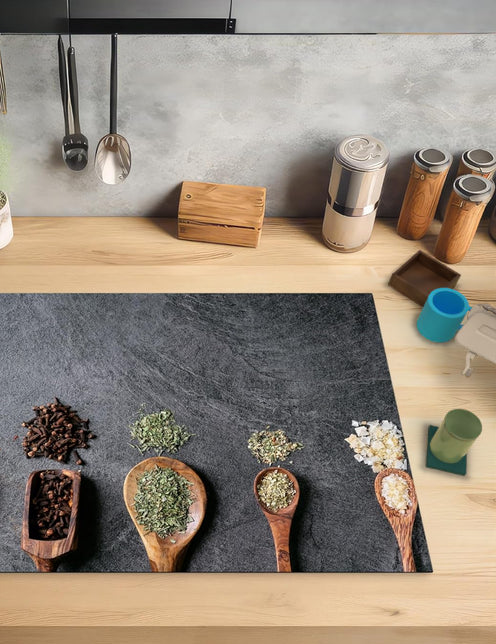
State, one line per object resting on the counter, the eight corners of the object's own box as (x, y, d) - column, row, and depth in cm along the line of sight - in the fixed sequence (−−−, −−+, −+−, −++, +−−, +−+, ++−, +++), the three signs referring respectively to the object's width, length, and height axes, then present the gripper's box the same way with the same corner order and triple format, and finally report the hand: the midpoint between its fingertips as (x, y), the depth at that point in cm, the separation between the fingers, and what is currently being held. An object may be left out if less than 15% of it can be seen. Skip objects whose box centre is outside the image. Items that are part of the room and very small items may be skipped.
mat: (428, 427, 143) (429, 424, 142) (465, 435, 141) (467, 433, 141) (425, 467, 137) (427, 464, 137) (464, 476, 136) (466, 473, 135)
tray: (455, 285, 164) (461, 274, 161) (428, 311, 160) (433, 300, 157) (415, 260, 169) (419, 249, 166) (387, 284, 164) (391, 274, 162)
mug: (417, 340, 155) (429, 315, 149) (415, 310, 160) (426, 285, 153) (476, 347, 154) (490, 322, 147) (472, 317, 159) (486, 292, 152)
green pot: (471, 448, 138) (489, 424, 131) (452, 470, 136) (469, 446, 129) (441, 427, 141) (457, 402, 134) (422, 448, 139) (437, 423, 131)
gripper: (476, 297, 136) (435, 361, 140) (587, 353, 128) (541, 419, 132) (478, 299, 142) (439, 360, 146) (584, 353, 134) (540, 416, 137)
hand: (488, 389), depth 139 cm, fingers open, 8 cm apart
